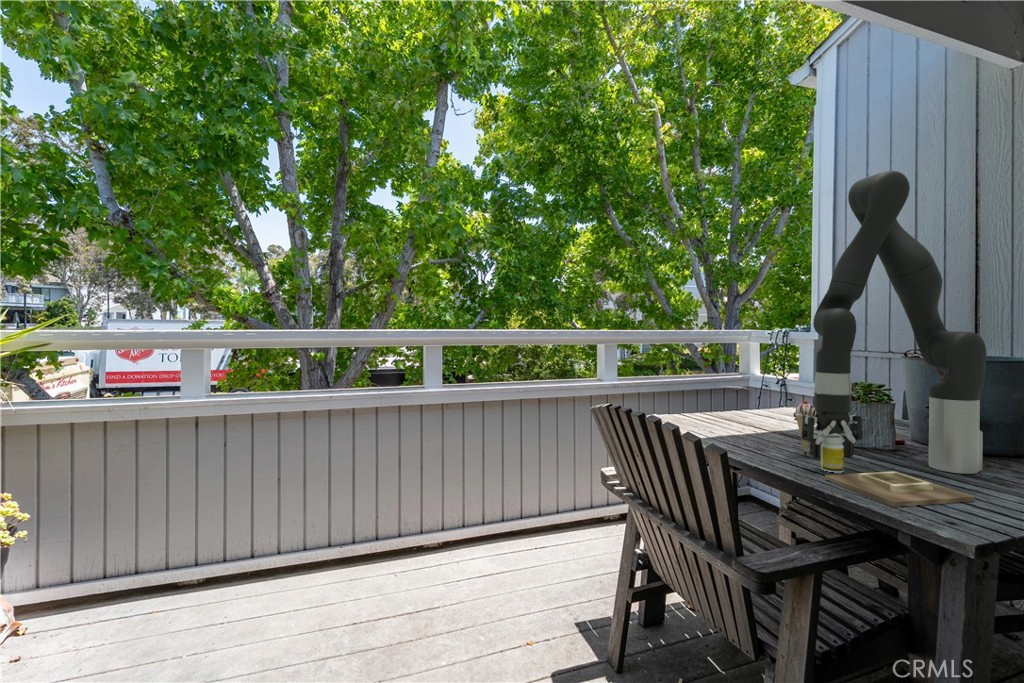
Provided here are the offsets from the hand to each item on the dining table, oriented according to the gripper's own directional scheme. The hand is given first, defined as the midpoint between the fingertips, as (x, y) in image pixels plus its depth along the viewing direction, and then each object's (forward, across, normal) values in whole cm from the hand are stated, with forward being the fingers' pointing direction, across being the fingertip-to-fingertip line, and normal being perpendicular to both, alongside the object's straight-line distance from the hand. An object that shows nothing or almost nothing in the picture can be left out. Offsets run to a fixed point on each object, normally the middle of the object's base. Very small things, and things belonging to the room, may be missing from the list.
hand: (831, 458), depth 123 cm
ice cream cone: (+3, -4, -13) cm, 14 cm away
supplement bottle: (+3, 0, 0) cm, 3 cm away
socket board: (+3, -2, +15) cm, 15 cm away
